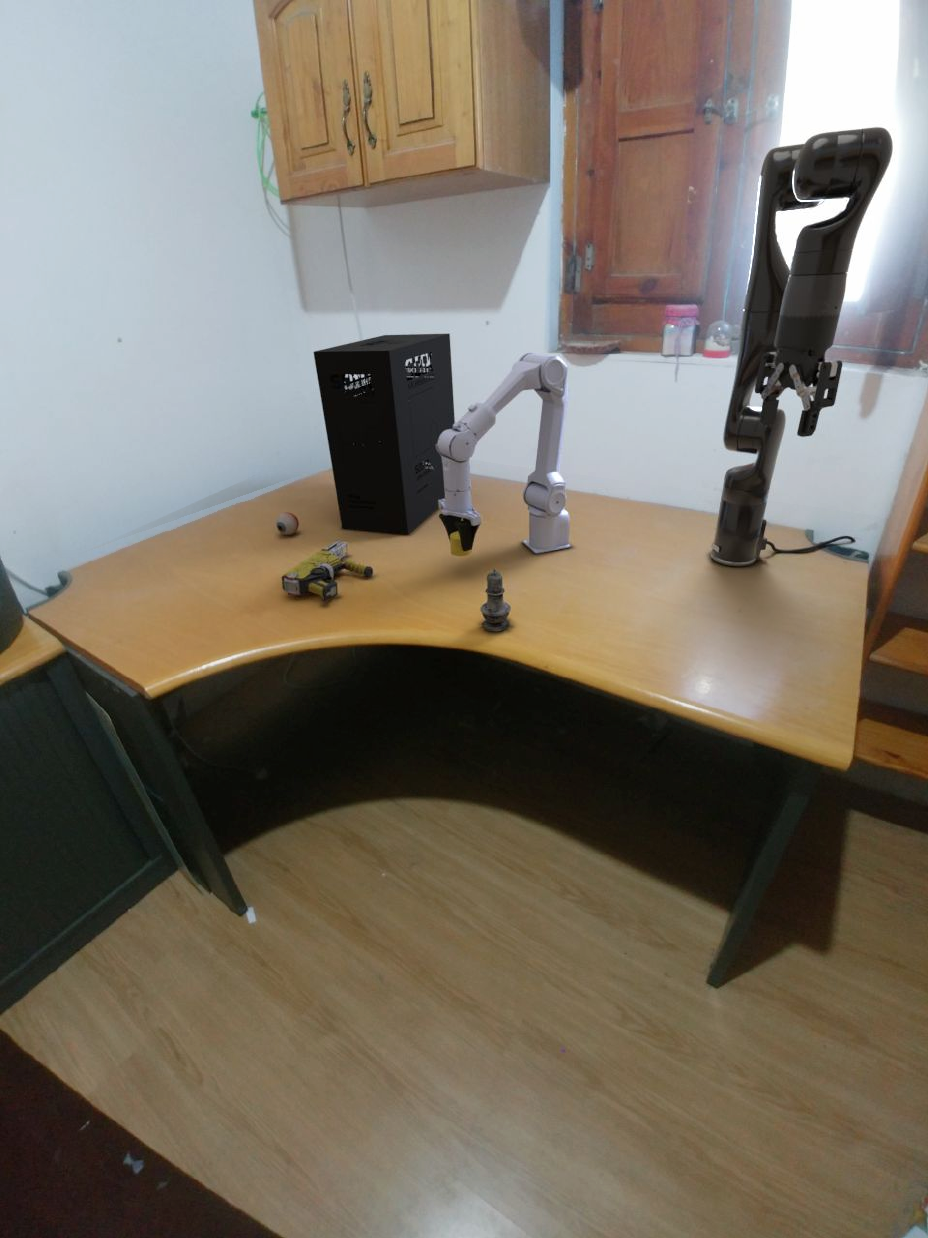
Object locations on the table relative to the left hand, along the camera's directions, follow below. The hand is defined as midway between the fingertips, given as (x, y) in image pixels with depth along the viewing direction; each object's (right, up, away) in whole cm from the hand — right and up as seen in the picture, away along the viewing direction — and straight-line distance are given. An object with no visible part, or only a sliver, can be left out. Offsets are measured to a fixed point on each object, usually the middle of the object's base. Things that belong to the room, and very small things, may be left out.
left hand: (461, 546), depth 136 cm
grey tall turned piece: (+7, -18, -18) cm, 26 cm away
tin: (0, -1, +1) cm, 1 cm away
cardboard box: (-17, +16, +43) cm, 49 cm away
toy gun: (-28, -7, +3) cm, 29 cm away
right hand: (+50, +13, -44) cm, 67 cm away
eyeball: (-47, +7, +29) cm, 56 cm away
